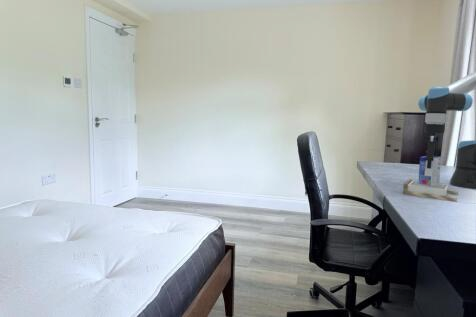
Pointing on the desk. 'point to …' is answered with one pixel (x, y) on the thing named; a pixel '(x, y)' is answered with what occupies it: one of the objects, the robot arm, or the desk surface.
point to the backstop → (429, 194)
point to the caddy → (428, 188)
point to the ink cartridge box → (435, 173)
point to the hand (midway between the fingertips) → (429, 174)
